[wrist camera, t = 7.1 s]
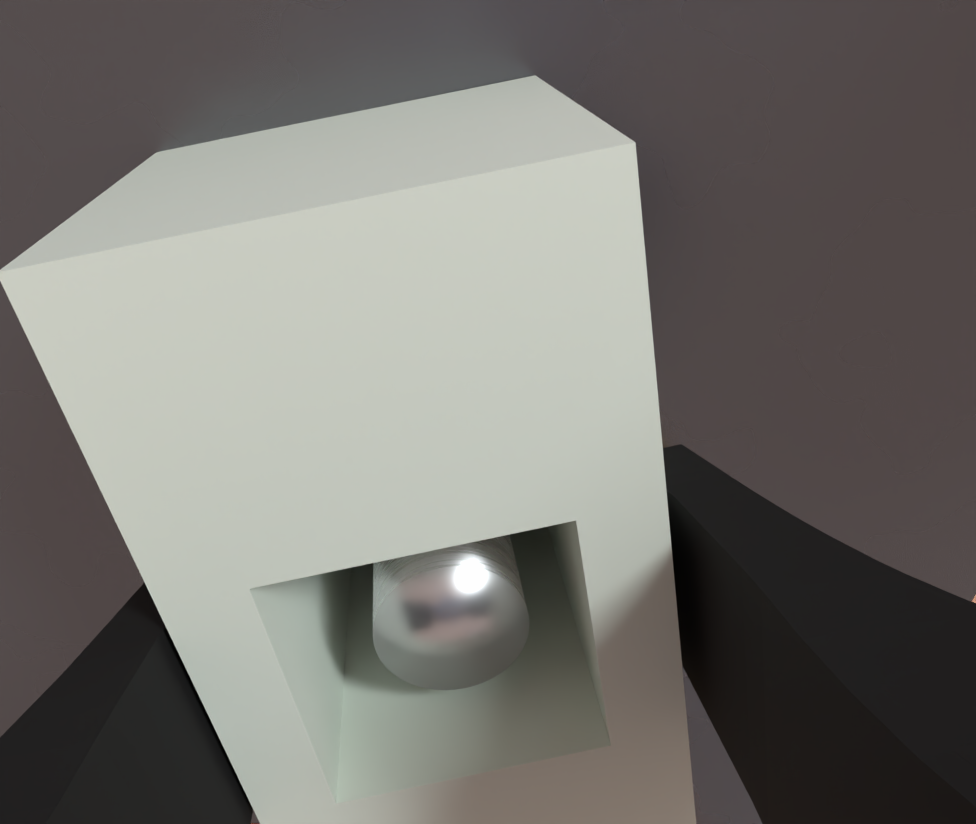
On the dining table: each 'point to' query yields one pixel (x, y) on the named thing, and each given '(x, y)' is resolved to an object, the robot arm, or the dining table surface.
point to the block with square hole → (387, 446)
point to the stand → (669, 259)
